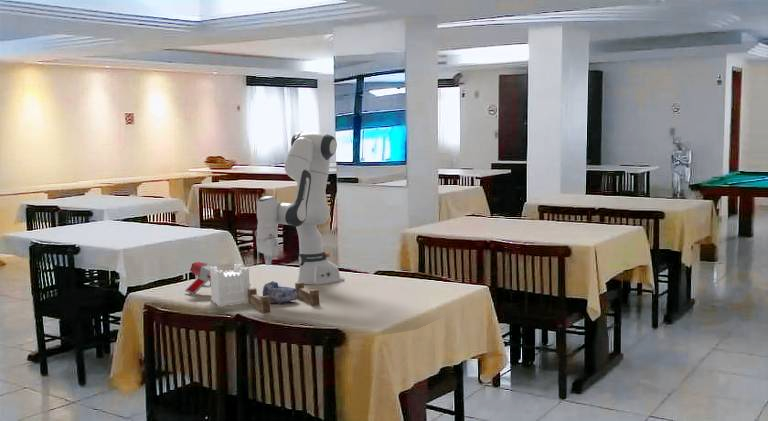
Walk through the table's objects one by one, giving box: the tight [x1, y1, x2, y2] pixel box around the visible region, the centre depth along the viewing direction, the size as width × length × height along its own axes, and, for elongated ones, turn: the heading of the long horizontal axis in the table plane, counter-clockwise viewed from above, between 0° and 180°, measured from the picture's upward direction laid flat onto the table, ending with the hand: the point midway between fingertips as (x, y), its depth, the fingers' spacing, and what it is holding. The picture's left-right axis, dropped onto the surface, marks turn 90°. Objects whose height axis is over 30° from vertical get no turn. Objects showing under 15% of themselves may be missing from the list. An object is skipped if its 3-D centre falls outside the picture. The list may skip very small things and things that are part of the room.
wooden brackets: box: [247, 282, 321, 314], centre depth 329 cm, size 25×20×6 cm
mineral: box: [262, 280, 298, 305], centre depth 333 cm, size 14×10×10 cm
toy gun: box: [184, 261, 220, 295], centre depth 354 cm, size 7×28×15 cm, turn 75°
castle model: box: [210, 263, 251, 307], centre depth 338 cm, size 14×14×15 cm
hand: (268, 264), depth 343 cm, fingers closed
